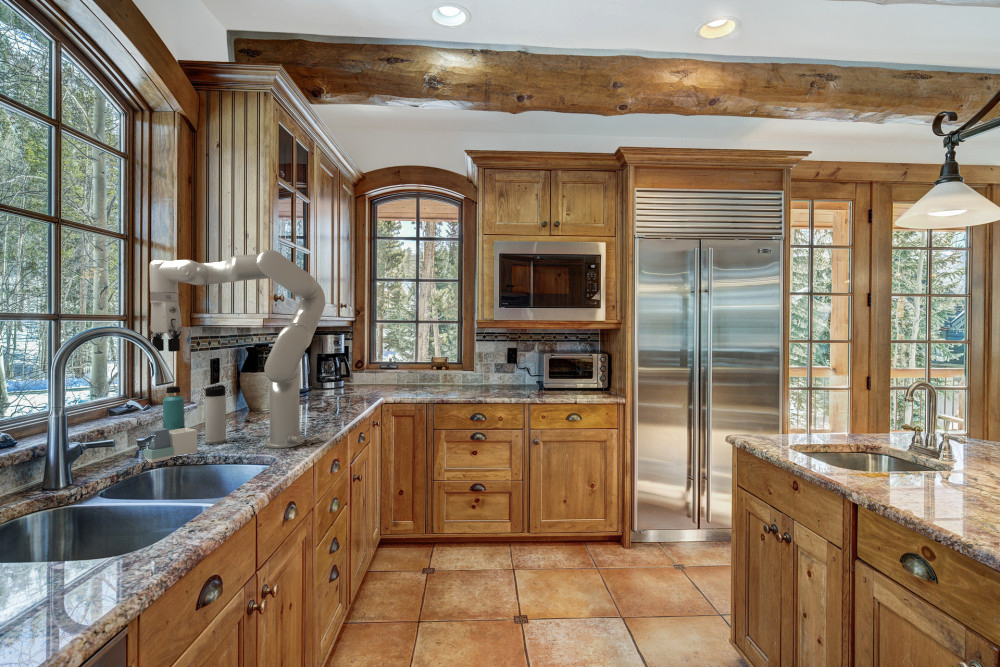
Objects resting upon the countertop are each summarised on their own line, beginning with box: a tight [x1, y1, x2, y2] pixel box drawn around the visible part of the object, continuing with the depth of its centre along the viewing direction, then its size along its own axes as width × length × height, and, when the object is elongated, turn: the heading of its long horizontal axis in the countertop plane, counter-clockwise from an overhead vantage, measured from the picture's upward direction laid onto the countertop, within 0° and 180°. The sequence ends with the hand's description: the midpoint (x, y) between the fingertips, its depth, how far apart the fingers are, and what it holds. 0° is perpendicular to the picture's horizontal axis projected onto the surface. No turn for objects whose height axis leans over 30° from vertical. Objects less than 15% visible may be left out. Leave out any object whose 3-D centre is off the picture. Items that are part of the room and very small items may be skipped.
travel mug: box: [204, 384, 227, 445], centre depth 170 cm, size 6×7×20 cm
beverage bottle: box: [162, 385, 186, 431], centre depth 169 cm, size 6×7×20 cm
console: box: [143, 427, 198, 464], centre depth 152 cm, size 7×13×8 cm, turn 149°
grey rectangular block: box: [147, 427, 169, 450], centre depth 149 cm, size 4×4×8 cm
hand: (166, 351), depth 158 cm, fingers open, 9 cm apart
